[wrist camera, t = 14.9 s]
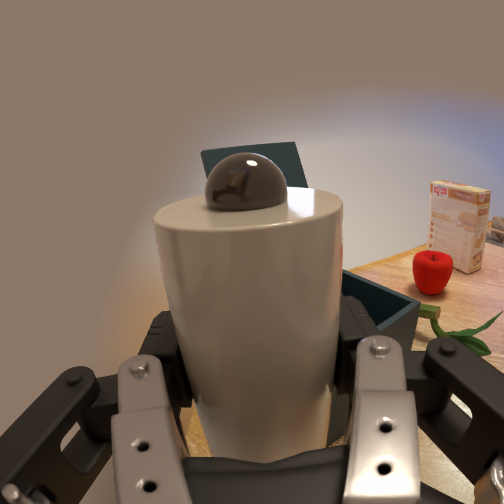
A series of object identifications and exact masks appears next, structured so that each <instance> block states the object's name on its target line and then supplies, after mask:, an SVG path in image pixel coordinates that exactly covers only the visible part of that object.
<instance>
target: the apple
mask: <svg viewBox="0 0 504 504" xmlns="http://www.w3.org/2000/svg"><path fill="white" fill-rule="evenodd" d="M452 271H453V259H452V258H451V256H450V255H448V254H446V253H443V252H438V251H431V250H426V251H421V252H418V253H417V254H416V255H415V256H414V259H413V275H414V280H415V283H416V285H417V287H418V288H419V290H420V291H421V292H423V293H424V294H429V295H433V294H438V293H440V292H442V290H443V289H444V288H445V287H446V285H447V283H448V281H449V279H450V277H451V274H452Z"/></svg>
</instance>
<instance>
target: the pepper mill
mask: <svg viewBox="0 0 504 504" xmlns="http://www.w3.org/2000/svg"><path fill="white" fill-rule="evenodd" d="M153 226H154V232H155V238H156V244H157V249H158V254H159V260H160V265H161V270H162V275H163V280H164V284H165V289H166V294H167V299H168V303H169V308H170V312H171V316H172V321H173V325H174V329H175V333H176V337H177V341H178V345H179V349H180V353H181V357H182V360H183V364H184V368H185V372H186V375H187V379H188V382H189V386H190V389H191V393H192V396H193V400H194V403H195V406H196V409H197V413H198V416H199V419H200V422H201V425H202V429H203V432H204V435H205V438H206V441H207V444H208V447H209V450H210V452H211V455H212V457H227V458H232V459H238V460H244V461H250V462H257V463H270V462H274V461H277V460H281V459H284V458H287V457H290V456H293V455H296V454H299V453H302V452H305V451H308V450H315V449H322V448H326V442H327V435H328V429H329V421H330V414H331V407H332V398H333V390H334V381H335V372H336V361H337V350H338V338H339V324H340V309H341V289H342V261H343V259H342V258H343V202H342V200H341V199H340V198H339V197H338V196H336V195H334V194H332V193H329V192H326V191H321V190H316V189H309V188H299V187H287V184H286V180H285V178H284V176H283V174H282V172H281V171H280V169H279V168H278V167H277V166H276V165H275V164H274V163H273V162H272V161H271V160H269V159H268V158H266V157H264V156H261V155H259V154H255V153H237V154H234V155H231V156H229V157H226V158H225V159H223V160H222V161H220V162H219V163H218V164H217V165H216V166H215V167H214V168H213V170H212V171H211V173H210V175H209V176H208V179H207V182H206V186H205V194H203V195H198V196H195V197H190V198H187V199H183V200H180V201H177V202H174V203H172V204H170V205H167V206H165V207H163V208H162V209H160V210H159V211H157V212H156V213H155V214H154V217H153Z"/></svg>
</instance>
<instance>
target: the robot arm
mask: <svg viewBox="0 0 504 504" xmlns="http://www.w3.org/2000/svg"><path fill="white" fill-rule="evenodd" d="M334 386H335V389H336V392H337V395H338V396H340V395H346V394H348V397H349V405H348V412H347V420H346V428H345V436H344V443H343V445H339V446H334V447H328V448H322V449H315V450H308V451H305V452H302V453H299V454H296V455H293V456H290V457H287V458H284V459H281V460H277V461H274V462H270V463H257V462H250V461H244V460H238V459H232V458H227V457H191V455H190V451H189V448H188V444H187V441H186V437H185V433H184V430H183V426H182V422H181V419H180V417H179V416H180V411H181V407H189V408H190V407H191V406H192V399H193V396H192V393H191V389H190V386H189V382H188V379H187V375H186V372H185V368H184V364H183V360H182V357H181V353H180V349H179V345H178V341H177V337H176V333H175V329H174V325H173V321H172V316H171V312H170V310H169V311H162V312H161V313H160V314H159V315H157V317H155V318H154V319H153V322H152V324H151V326H150V329H149V330H148V333H147V336H146V337H145V339H144V342H143V344H142V347H141V349H140V351H139V353H138V355H137V356H134V357H131V358H129V359H127V360H126V361H124V362H123V363H122V364H121V366H120V367H119V370H118V374H115V375H111V376H105V377H100V378H96V377H95V375H94V372H93V371H92V370H91V369H90V368H88V367H84V366H78V367H73V368H70V369H68V370H66V371H64V372H63V373H62V374H61V375H60V376H59V377H58V378H57V379H56V380H55V381H54V382H53V383H52V384H51V385H50V386H49V387H48V388H47V389H46V390H45V391H44V392H43V393H42V394H41V395H40V396H39V397H38V398H37V399H36V400H35V401H34V402H33V403H32V404H31V405H30V406H29V407H28V408H27V409H26V410H25V411H24V413H23V414H22V415H21V416H20V417H19V418H18V419H17V420H16V421H15V422H14V423H13V424H12V425H11V426H10V427H9V428H8V429H7V430H6V431H5V433H4V434H3V435H2V436H1V437H0V504H79V502H80V501H81V500H82V498H83V497H84V495H85V494H86V492H87V491H88V489H89V488H90V486H91V485H92V483H93V482H94V481H95V479H96V477H97V476H98V474H99V473H100V472H101V470H102V469H103V467H104V466H105V464H106V463H107V461H108V460H109V459H110V457H111V455H112V454H113V468H114V480H115V490H116V499H117V504H464V503H462V502H460V501H458V500H456V499H454V498H452V497H450V496H448V495H446V494H444V493H442V492H440V491H438V490H436V489H434V488H432V487H430V486H428V485H426V484H425V483H423V482H421V481H420V460H419V440H418V426H419V427H420V428H421V429H422V430H423V431H424V433H425V434H426V435H427V436H428V437H429V438H430V439H431V440H432V441H433V442H434V443H435V444H436V445H437V446H438V448H439V449H440V450H441V451H442V452H443V453H444V454H445V455H446V456H447V457H448V458H449V459H450V460H451V461H452V462H453V464H454V465H455V466H456V467H457V468H458V469H459V470H460V471H461V472H462V473H463V474H464V475H465V476H466V477H467V479H468V480H469V481H470V482H471V483H472V484H473V485H474V486H475V488H474V496H475V500H474V504H504V374H503V373H502V372H500V371H499V370H498V369H496V368H495V367H494V366H492V365H491V364H490V363H488V362H487V361H486V360H484V359H483V358H482V357H480V356H479V355H478V354H476V353H475V352H473V351H472V350H471V349H469V348H468V347H467V346H465V345H464V344H462V343H461V342H460V341H458V340H456V339H453V338H449V337H438V338H435V339H433V340H431V341H430V342H429V343H428V345H427V348H426V351H406V350H402V348H401V346H400V344H399V343H398V342H397V341H396V340H394V339H392V338H390V337H387V336H382V334H381V333H380V331H379V329H378V328H377V326H376V325H375V323H374V321H373V320H372V318H371V317H370V315H369V314H368V312H367V311H366V309H365V307H364V306H363V304H362V303H361V301H359V300H357V299H356V298H354V297H353V296H344V295H343V294H342V292H341V309H340V324H339V338H338V350H337V361H336V372H335V381H334ZM452 394H454V395H456V396H457V397H458V398H459V399H460V400H461V401H462V402H463V403H465V404H466V405H467V406H468V407H469V408H470V410H471V412H472V419H471V418H470V417H469V416H468V415H467V414H466V413H465V412H464V411H463V410H462V409H461V408H459V407H458V406H457V405H456V404H455V403H454V402H453V401H452V400H451V399H450V398H451V396H452ZM76 422H77V423H78V424H79V426H80V427H81V428H80V430H79V431H78V432H77V433H76V435H75V436H74V437H73V438H72V440H71V441H70V442H69V443H68V445H67V446H66V447H65V449H64V450H63V451H62V452H61V449H60V444H61V441H62V439H63V438H64V436H65V435H66V434H67V433H68V431H69V430H70V429H71V428H72V427H73V425H74V424H75V423H76ZM417 425H418V426H417Z"/></svg>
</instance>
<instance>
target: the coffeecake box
mask: <svg viewBox="0 0 504 504" xmlns="http://www.w3.org/2000/svg"><path fill="white" fill-rule="evenodd" d="M489 204H490V191H489V190H485V189H480V188H476V187H471V186H468V185H462V184H458V183H453V182H448V181H434V182H431V192H430V211H429V225H428V226H429V227H428V236H427V246H426V250H431V251H438V252H443V253H446V254H448V255H450V256H451V258H452V259H453V267H454V268H456V269H458V270H460V271H462V272H465V273H467V274H470V273H472V272H474V271H476V270H478V269H480V268H481V264H482V259H483V253H484V247H485V240H486V233H487V224H488V215H489Z"/></svg>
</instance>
